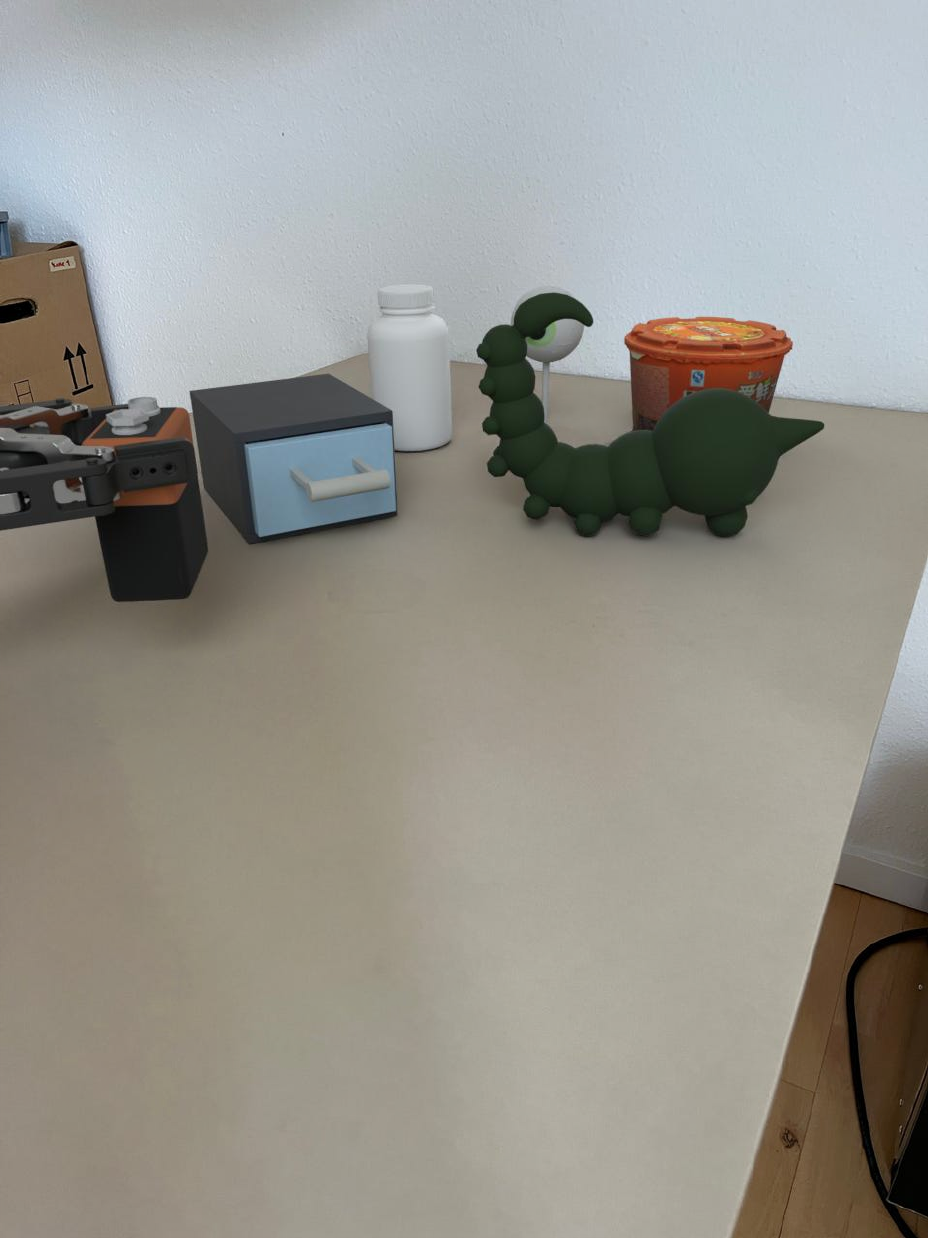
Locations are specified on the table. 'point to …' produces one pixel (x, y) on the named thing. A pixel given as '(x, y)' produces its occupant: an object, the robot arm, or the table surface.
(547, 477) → the toy figurine
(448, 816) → the table surface
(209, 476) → the dark grey box
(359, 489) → the drawer
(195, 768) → the table surface
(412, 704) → the table surface
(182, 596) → the battery
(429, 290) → the pill bottle
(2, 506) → the robot arm
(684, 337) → the food container
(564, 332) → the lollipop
